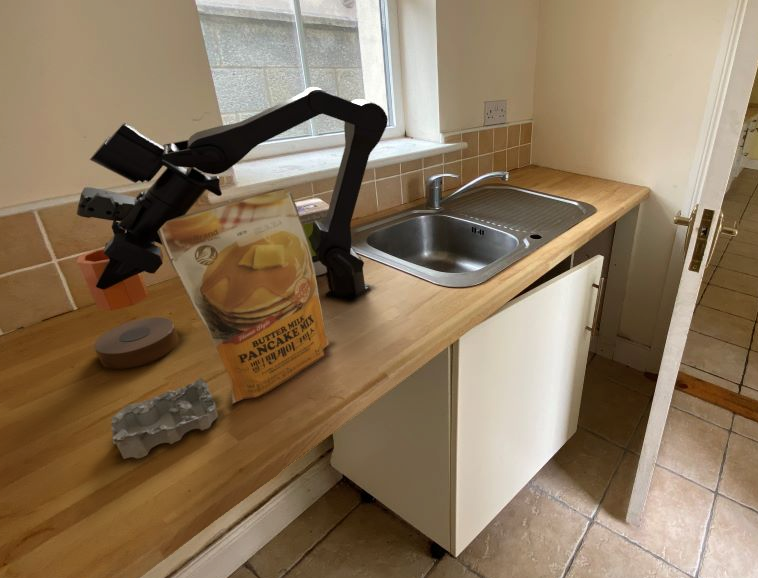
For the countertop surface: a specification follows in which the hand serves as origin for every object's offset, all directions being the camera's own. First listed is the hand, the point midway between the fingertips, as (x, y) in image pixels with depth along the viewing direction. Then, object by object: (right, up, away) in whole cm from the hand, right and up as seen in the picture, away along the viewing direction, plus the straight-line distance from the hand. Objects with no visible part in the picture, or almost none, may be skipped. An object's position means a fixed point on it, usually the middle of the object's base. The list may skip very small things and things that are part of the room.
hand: (102, 279), depth 69 cm
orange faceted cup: (+1, -3, +3) cm, 4 cm away
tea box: (+15, 0, +32) cm, 35 cm away
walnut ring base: (+1, -12, +5) cm, 13 cm away
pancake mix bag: (+26, -15, +2) cm, 30 cm away
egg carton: (+18, -20, -9) cm, 28 cm away
